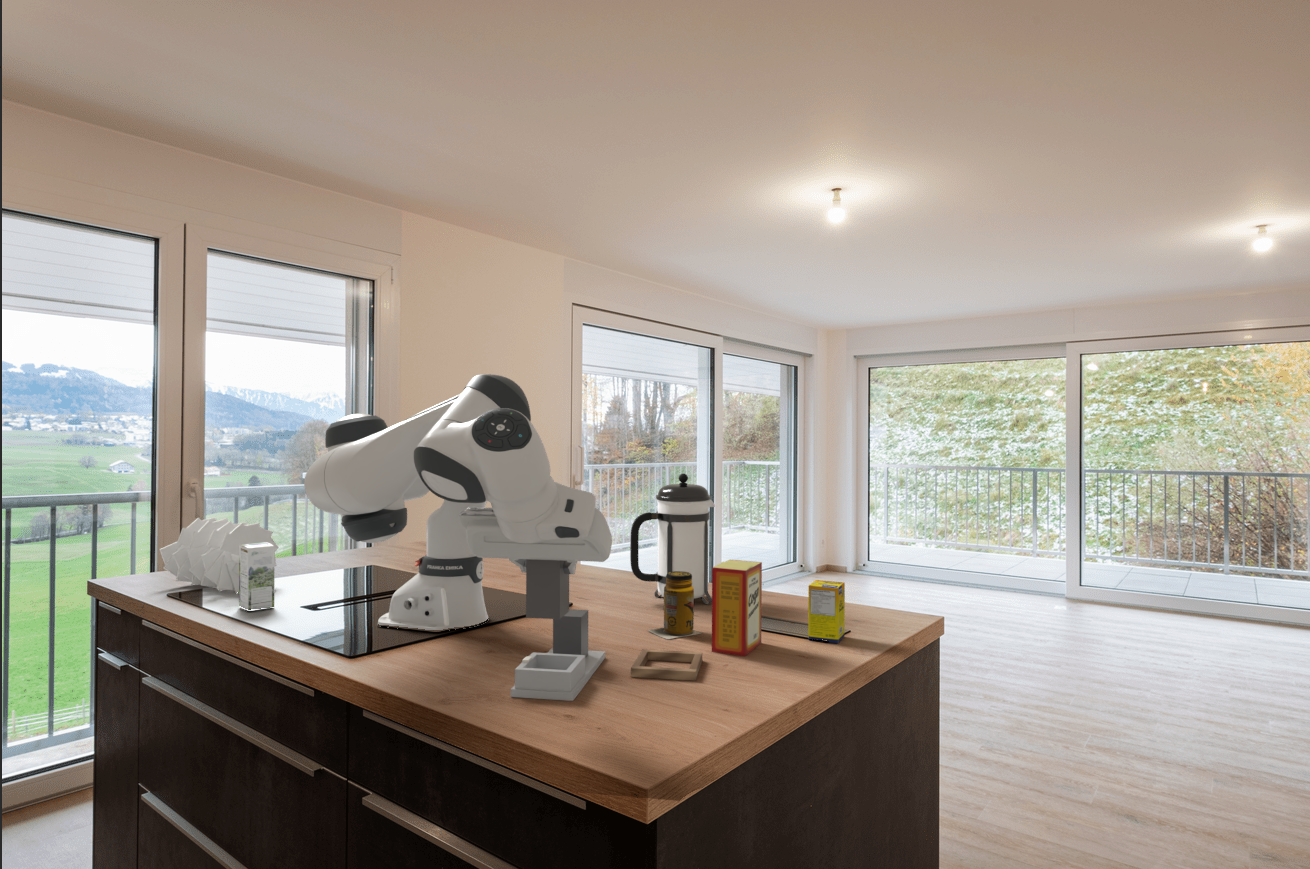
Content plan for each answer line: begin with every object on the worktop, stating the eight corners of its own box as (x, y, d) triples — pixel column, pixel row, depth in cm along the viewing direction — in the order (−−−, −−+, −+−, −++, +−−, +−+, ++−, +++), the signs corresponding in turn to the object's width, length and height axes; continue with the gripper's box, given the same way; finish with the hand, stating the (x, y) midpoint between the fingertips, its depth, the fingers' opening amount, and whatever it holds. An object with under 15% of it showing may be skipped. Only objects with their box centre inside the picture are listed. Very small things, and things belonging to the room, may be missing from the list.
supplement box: (844, 636, 160) (845, 581, 160) (838, 644, 155) (838, 587, 154) (815, 632, 163) (815, 579, 162) (807, 640, 157) (808, 584, 157)
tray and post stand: (573, 700, 124) (573, 641, 123) (510, 696, 125) (510, 638, 125) (605, 657, 145) (605, 607, 145) (551, 655, 147) (551, 604, 147)
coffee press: (670, 590, 201) (671, 470, 201) (726, 598, 192) (726, 473, 191) (628, 603, 187) (628, 474, 186) (685, 613, 178) (686, 477, 177)
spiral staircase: (210, 595, 211) (270, 602, 198) (145, 577, 197) (205, 583, 185) (236, 529, 218) (295, 531, 205) (175, 506, 204) (234, 507, 191)
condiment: (702, 633, 162) (702, 574, 162) (667, 640, 157) (667, 579, 157) (681, 625, 168) (681, 568, 168) (647, 631, 163) (647, 572, 163)
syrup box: (265, 604, 185) (264, 541, 185) (275, 608, 181) (274, 544, 181) (238, 608, 181) (238, 544, 181) (248, 613, 177) (247, 547, 176)
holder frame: (630, 676, 135) (630, 668, 135) (642, 657, 146) (642, 649, 146) (695, 680, 133) (695, 671, 133) (702, 660, 144) (702, 652, 144)
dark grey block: (525, 617, 116) (526, 533, 116) (536, 609, 121) (537, 529, 121) (559, 619, 115) (560, 534, 115) (569, 611, 120) (569, 529, 120)
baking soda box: (729, 638, 158) (729, 557, 158) (761, 642, 155) (761, 560, 155) (711, 651, 150) (712, 565, 149) (745, 656, 147) (745, 568, 146)
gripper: (448, 526, 108) (476, 585, 118) (598, 530, 105) (613, 590, 115) (462, 490, 112) (487, 550, 122) (605, 493, 109) (619, 554, 119)
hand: (549, 569), depth 118 cm, fingers closed on dark grey block, 5 cm apart
